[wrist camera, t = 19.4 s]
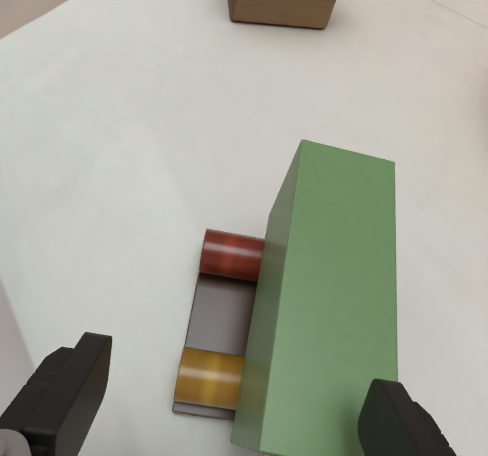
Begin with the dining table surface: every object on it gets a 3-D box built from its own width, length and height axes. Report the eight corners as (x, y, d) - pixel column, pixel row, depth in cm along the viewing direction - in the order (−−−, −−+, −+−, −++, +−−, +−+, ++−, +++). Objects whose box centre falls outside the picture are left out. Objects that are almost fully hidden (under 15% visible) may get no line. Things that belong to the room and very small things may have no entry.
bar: (229, 442, 20) (258, 452, 13) (269, 214, 27) (301, 138, 20) (322, 461, 20) (399, 480, 13) (338, 230, 27) (395, 161, 20)
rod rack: (172, 412, 24) (171, 409, 20) (205, 239, 29) (208, 214, 26) (358, 438, 25) (388, 440, 21) (355, 266, 30) (378, 245, 27)
